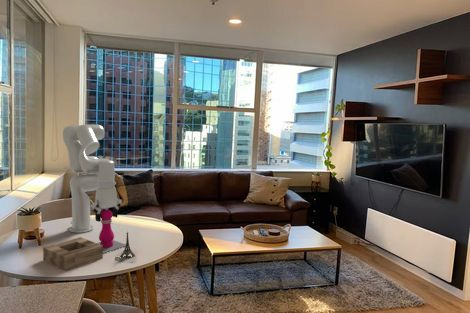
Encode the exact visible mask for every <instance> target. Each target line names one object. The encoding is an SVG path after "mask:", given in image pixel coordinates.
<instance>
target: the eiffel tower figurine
mask: <svg viewBox="0 0 470 313" xmlns="http://www.w3.org/2000/svg"><path fill="white" fill-rule="evenodd" d="M125 244H126V246H125V247H124V250H122V252H121V253H120V255H119V256H120V257H121V258H120V257H116V256H115V258H114V261H115V262H118V263H124V261H125V260H127V261H128V260H129V259H133V258H135V257H136V255H135V254H134V252H133V251H132V250H131V247H130V242H129V232H128V229H127V232H126V242H125ZM129 254H131V255H132V257H131V256H128V255H129ZM123 255H126V256H124V257H123ZM130 263H132V261H130V262H129V264H130Z"/></svg>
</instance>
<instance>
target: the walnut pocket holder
mask: <svg viewBox="0 0 470 313" xmlns="http://www.w3.org/2000/svg"><path fill="white" fill-rule="evenodd" d="M97 243H98V242H94V241H91V240H89V239H86V238H84V237H81V236H79V237H77V238H73V239H68V240H65V241H61V242H58V243H55V244H50V245H47V246H43V247H42V251H43V253H42V254H43V255H42V257H43V261H44V262H46V263H48V264H50V265H52V266H55V267H56V268H58V269H60V270H61V271H65V272H66V271H69V270H71V269H74V268H77V267H81V266H83V265H86V264H89V263H92V262H96V261H99V260H101V259H103V258H104V254H103V245H100V244H97Z"/></svg>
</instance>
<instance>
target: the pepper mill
mask: <svg viewBox="0 0 470 313" xmlns="http://www.w3.org/2000/svg"><path fill="white" fill-rule="evenodd" d="M100 214H101V221H100V222H101V225H102V226H101V227H102V228H101V230H100V233H99V235H98V239H99V241H100V245H103V248H108V247H111V246H113V241H112V240H114V239H115V234H114V232H113V230H112V226H111V224H112V220H113V219H112V218H113V210H110V209H109V208H106V209H102V210H101V212H100Z"/></svg>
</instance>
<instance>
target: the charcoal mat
mask: <svg viewBox="0 0 470 313" xmlns="http://www.w3.org/2000/svg"><path fill="white" fill-rule="evenodd" d="M112 241H113V246H111V247H108V248H103V255H104V254H107V252H108V253H110V251H111V252H113V250H114V251H117V250H120V249H122V247H123V248H125V246H126V243H122V242H120V241H117V240H114V239H113V240H112ZM100 242H101V241H100ZM100 242H96V243H97V244H100ZM119 248H120V249H119ZM116 249H117V250H116Z"/></svg>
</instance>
